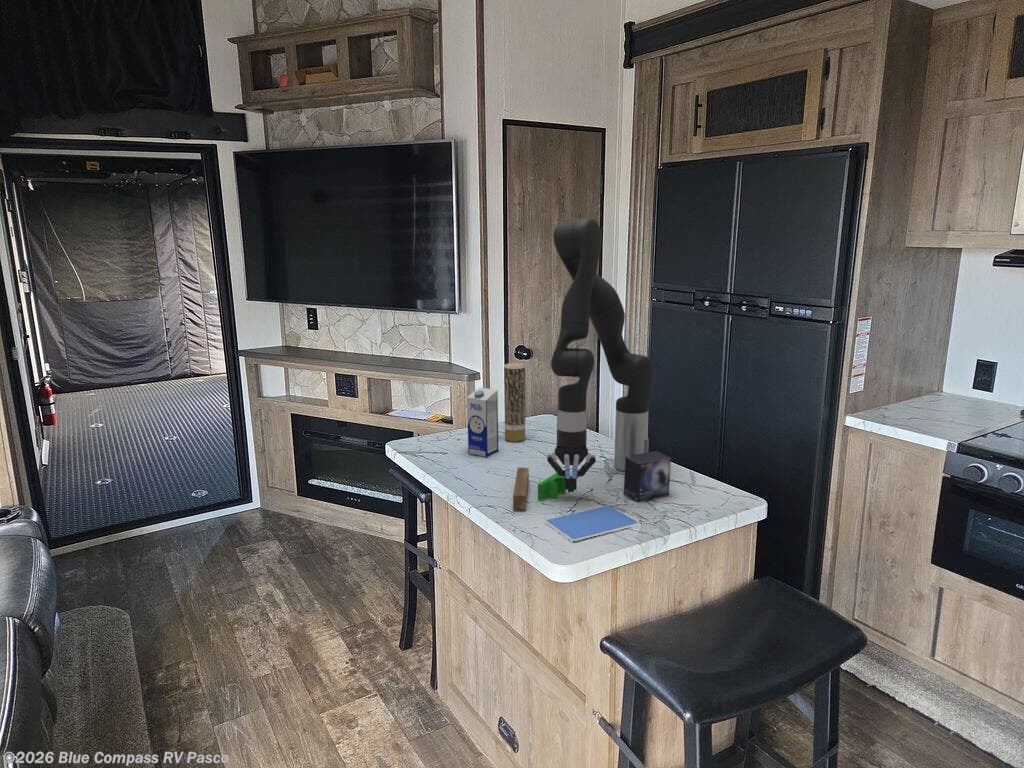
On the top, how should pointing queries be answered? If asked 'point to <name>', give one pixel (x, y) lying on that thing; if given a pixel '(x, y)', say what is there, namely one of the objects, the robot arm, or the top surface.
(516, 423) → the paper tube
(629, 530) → the top surface
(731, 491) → the top surface
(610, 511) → the tablet computer
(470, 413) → the milk carton
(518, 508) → the block
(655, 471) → the small box
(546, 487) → the pipe clamp
